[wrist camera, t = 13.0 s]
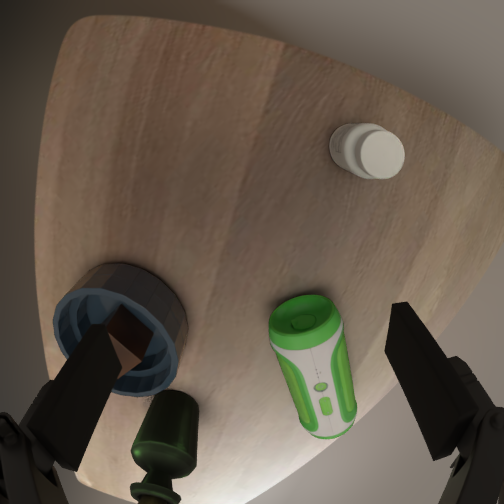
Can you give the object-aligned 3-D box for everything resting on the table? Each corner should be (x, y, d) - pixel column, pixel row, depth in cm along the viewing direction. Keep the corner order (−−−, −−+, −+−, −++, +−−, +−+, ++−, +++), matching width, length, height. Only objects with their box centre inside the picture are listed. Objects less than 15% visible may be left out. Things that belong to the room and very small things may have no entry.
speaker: (262, 302, 33) (264, 348, 26) (330, 282, 32) (348, 324, 25) (299, 405, 39) (305, 449, 32) (351, 391, 38) (364, 434, 31)
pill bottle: (381, 157, 27) (419, 169, 20) (341, 178, 28) (370, 196, 21) (360, 115, 25) (395, 113, 18) (319, 136, 26) (342, 139, 19)
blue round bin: (58, 282, 32) (32, 308, 27) (151, 242, 30) (130, 268, 25) (116, 370, 37) (101, 402, 32) (209, 349, 35) (202, 386, 30)
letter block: (99, 325, 34) (82, 350, 29) (121, 303, 32) (104, 329, 28) (130, 352, 35) (117, 379, 30) (154, 333, 34) (142, 361, 29)
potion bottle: (139, 385, 38) (99, 497, 21) (195, 383, 37) (170, 508, 21) (160, 421, 41) (134, 523, 24) (211, 420, 40) (198, 531, 24)
